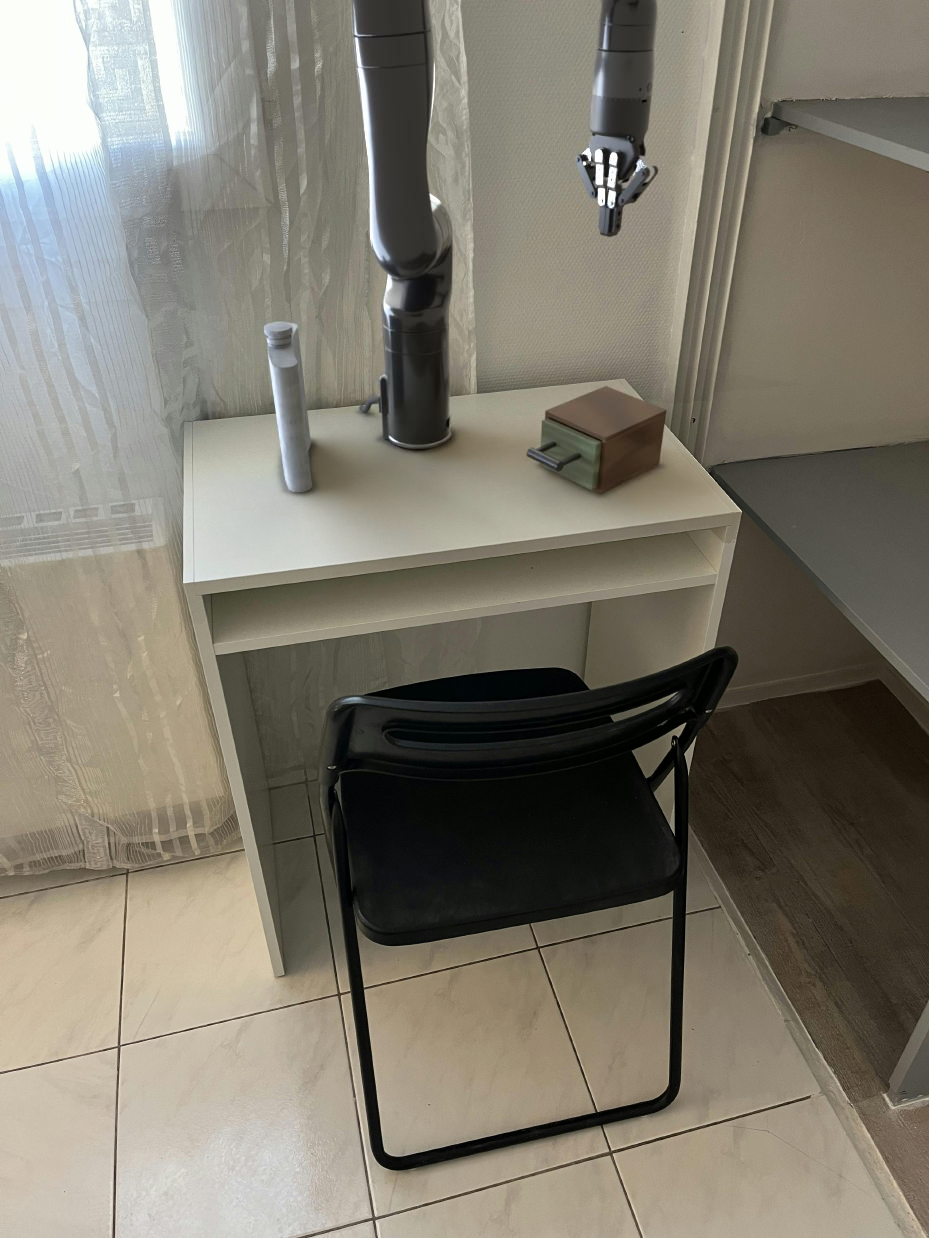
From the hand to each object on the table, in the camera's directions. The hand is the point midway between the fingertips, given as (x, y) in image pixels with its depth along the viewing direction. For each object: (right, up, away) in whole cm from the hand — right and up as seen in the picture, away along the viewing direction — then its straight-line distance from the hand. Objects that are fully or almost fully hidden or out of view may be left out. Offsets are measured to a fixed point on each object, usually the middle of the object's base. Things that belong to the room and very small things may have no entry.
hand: (609, 235), depth 128 cm
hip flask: (-43, -31, +4) cm, 53 cm away
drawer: (-4, -32, +1) cm, 32 cm away
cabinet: (-1, -31, +4) cm, 31 cm away
